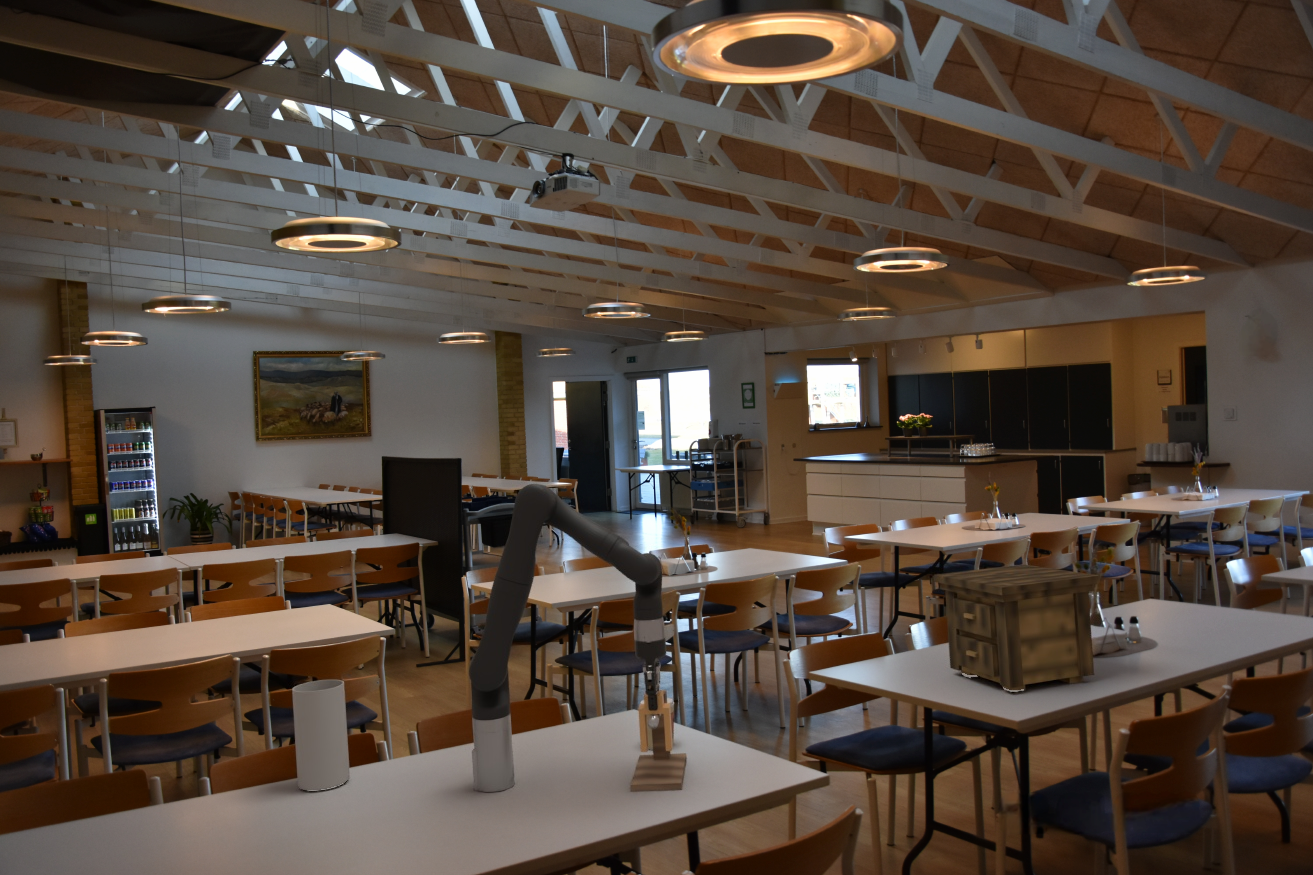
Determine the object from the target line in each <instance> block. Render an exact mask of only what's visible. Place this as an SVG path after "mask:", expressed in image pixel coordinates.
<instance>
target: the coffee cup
mask: <svg viewBox="0 0 1313 875" xmlns="http://www.w3.org/2000/svg"><path fill="white" fill-rule="evenodd" d="M667 703H670V710H671V726H672V742H673V746H674V744H675V743H674V741H675V740H674V737H675V736H674V735H675V732H674V731H675V728H674V727H675V724H674V723H675V722H674V721H675V714H674V713H675V710H674V708H675V707H674V706H675V702H674V699H673V698H671V697H667ZM640 704H644V699H642V700H641V701H640V703H639V705H638V707H639V706H640ZM649 717H650V714H646V718H647V734H648V749H647V750H649V749H650V751H653V742H652V729H651V728H649V727H648V721H649Z"/></svg>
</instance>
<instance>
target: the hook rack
mask: <svg viewBox="0 0 1313 875" xmlns="http://www.w3.org/2000/svg"><path fill="white" fill-rule="evenodd" d="M659 691H663V696H664V703H667V698H668V693H667V689H661V690H660V689H659ZM648 727H649V728H651V729H652V742H653V750H652V754H639V757H638V758H637V763H636V764H635V765H636V766H635V770H634V772H633V775H632V779H631V781H630V785H629V786H630V788H629V789H630V792H649V791H650V792H654V791H657V792H658V791H681V790H682V789H683V784H684V778H685V771H686V766H687V759H688V758H687V753H686V752H685V753H684V752H683V753H672V752H671V751H666V745H665V729H664V714H650V717H649V721H648Z"/></svg>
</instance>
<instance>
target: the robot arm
mask: <svg viewBox="0 0 1313 875" xmlns="http://www.w3.org/2000/svg"><path fill="white" fill-rule="evenodd" d="M512 511H513V512H512V518H511V522H510V528H509V534H508V537H507V540H506V543H505V545H504V548H503V551H502V553H501V556H500V559H499V563H498V567H497V570H496V573H495V576H494V579H493V582H492V585H491V591H490V594H489V599H488V605H487V610H486V617H485V624H484V628H483V629H484V630H483V633H482V635H481V638H480V641H479V644H478V647H477V649H476V652H475V653H474V654H473V656H472V658H471V659H470V661H469V662H470V663H469V665H468V666H469V667H468V675H469V680H470V686H471V687H470V689H471V690H470V691H471V717H472V720H471V721H472V732H473V749H472V750H471V759H472V761H471V762H472V776H473V778H472V779H473V791H480V792H485V793H487V792H488V793H491V792H492V793H495V792H500V791H505V790H509V789H510V788H513V786H514V785H515V783H516V780H515V768H514V767H515V765H514V750H513V734H512V721H511V720H512V719H511V718H512V717H511V716H512V715H511V698H510V696H511V695H510V694H511V693H510V680H509V679H510V677H509V676H510V675H509V661H510V660H509V659H510V653H511V649H512V644H513V640H514V636H515V634H516V632H517V628H518V626H519V624H520V622H521V620H522V617H523V614H524V613H525V609H526V606H527V604H528V601H529V600H528V599H529V597H530V593H531V590H532V587H533V584H534V578H535V572H536V571H535V570H536V558H537V557H536V555H537V546H538V541H539V538H540V535H541V531H542V529H543V527H544V524H546V525H548V526H550V527H553V528H555V529H557V530H559V531H561V532H562V533H564V534H565V535H567V536H569V537H570V538H571V539H572V540H574V541H575V542H576V543H578V545H580V546H582V548H584V549H586V551H588V552H589V553H591V554H593V555H594V556H595V557H597V558H599V559H601V560H602V561H604V562H605V563H607V564H609V565H611V566H612V567H614V568H615V569H616V570H617V571H618V572H620V573H621V575H624V576H625V577H626V578H627V579H629V580H631V582H632V583H634V585H635V586H634V587H635V595H634V597H633V605H632V606H633V620H634V621H633V637H634V652H635V654H634V655H635V657H636V658H637V659H641V660H642V659H643V660H645V661H644V663H643V665H642V672H643V682H644V686H645V687H644V688H645V692H644V694H645V693H646V694H647V695H648V708H649V710H650V711H656V710H657V709H658V701H657V693H658V691H659V690H660V683H661V662H660V660H659V659H661V658H664V657H665V656H667V643H666V628H665V627H666V625H665V621H664V610H663V602H662V601H663V600H662V591H663V589H662V588H663V587H662V586H663V568H662V567H663V566H662V562H661V560H660V559H659V557H657V555H655V554H653V553H649V552H645V553H642V552H640V551H639V550H637V549H636V548H633V547H632V546H630V543H629V542H628V540H626V539H624V537H622V536H620V535H618V534H617V533H615V532H613V531H612V530H610V529H608V528H606V527H604V526H603V525H601V524H600V523H597V522H596V521H594V520H592V519H590V518H589V517H587V516H586V515H584V514H582V513H580V512H579V511H577V510H576V509H574V508H573V507H572V506H570V505H569V504H568V503H567V502H566V501H565V500H563V499H562V498H561V497H560V496H559V495H558V494H556V493H555V492H554V491H553V489H551V488H550V487H549V486H546V485H544V484H538V483H529V484H526V485H525V486H523V487H522V488H521V489H520V490H519V491H518V493H517V494H516V496H515V500H514V505H513V510H512Z"/></svg>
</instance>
